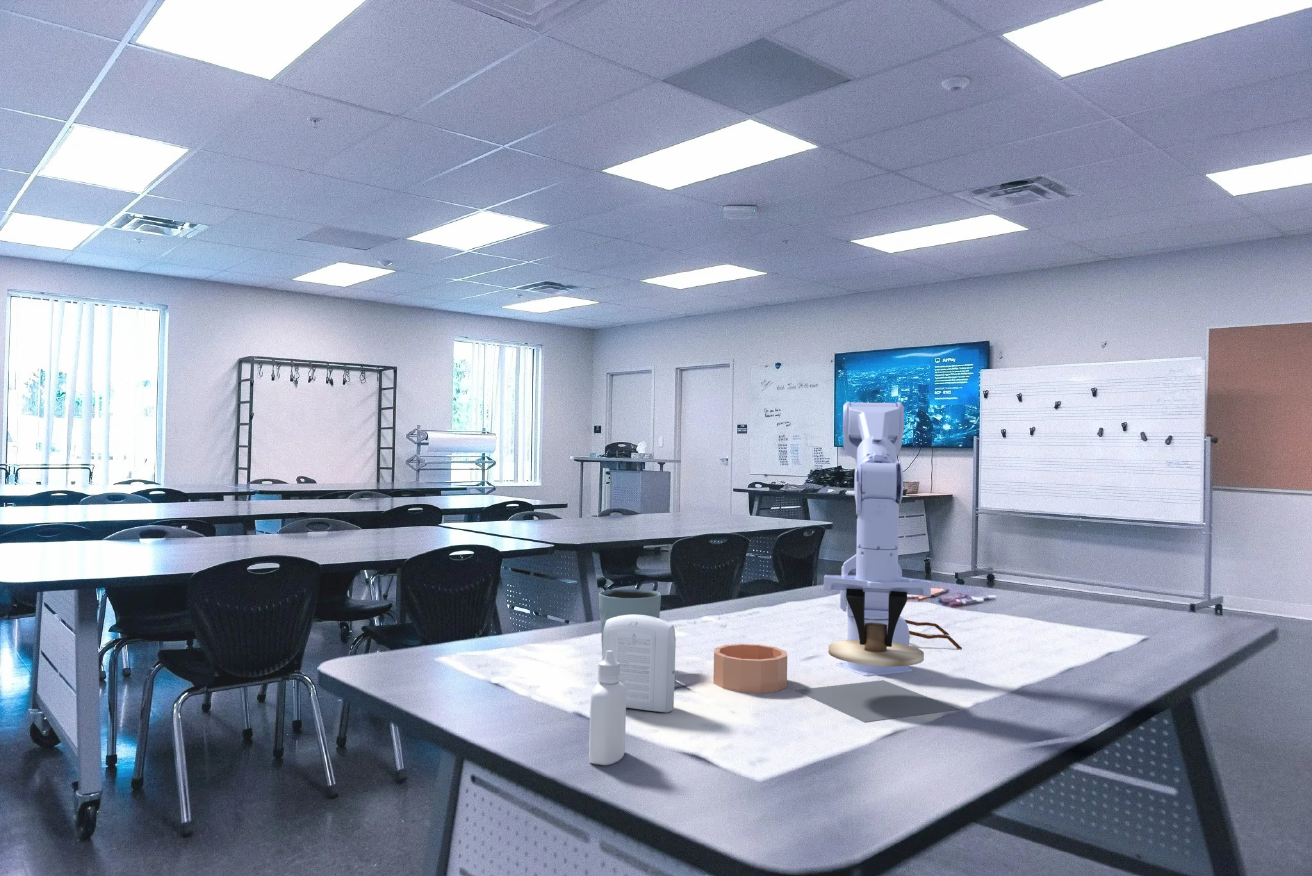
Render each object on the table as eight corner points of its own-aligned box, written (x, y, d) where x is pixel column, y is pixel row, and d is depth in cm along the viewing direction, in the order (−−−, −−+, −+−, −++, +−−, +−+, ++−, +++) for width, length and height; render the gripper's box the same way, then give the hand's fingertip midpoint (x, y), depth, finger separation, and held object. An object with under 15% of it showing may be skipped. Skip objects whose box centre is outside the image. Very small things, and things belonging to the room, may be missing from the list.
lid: (882, 642, 131) (882, 614, 131) (944, 662, 119) (944, 630, 119) (810, 648, 125) (810, 618, 125) (867, 669, 113) (868, 636, 114)
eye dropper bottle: (575, 757, 98) (577, 650, 98) (614, 747, 101) (617, 644, 101) (599, 769, 94) (601, 658, 95) (638, 758, 98) (640, 651, 98)
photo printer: (678, 706, 118) (680, 615, 119) (669, 715, 114) (671, 621, 114) (607, 698, 121) (609, 609, 122) (596, 706, 117) (598, 615, 118)
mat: (883, 683, 133) (883, 680, 133) (960, 712, 118) (960, 709, 118) (794, 693, 126) (794, 689, 126) (864, 725, 111) (864, 721, 111)
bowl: (761, 673, 137) (762, 641, 137) (800, 691, 127) (801, 657, 127) (701, 679, 132) (701, 646, 132) (736, 698, 123) (737, 663, 123)
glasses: (880, 633, 173) (881, 607, 173) (948, 636, 171) (949, 610, 171) (889, 647, 160) (889, 620, 160) (962, 651, 158) (963, 623, 158)
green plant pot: (623, 679, 132) (625, 600, 132) (583, 666, 139) (585, 591, 140) (673, 669, 138) (674, 594, 139) (632, 657, 146) (634, 586, 146)
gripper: (822, 547, 120) (821, 646, 120) (932, 553, 117) (930, 654, 116) (826, 543, 127) (825, 636, 127) (930, 547, 123) (928, 643, 123)
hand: (875, 644), depth 122 cm, fingers closed on lid, 3 cm apart
